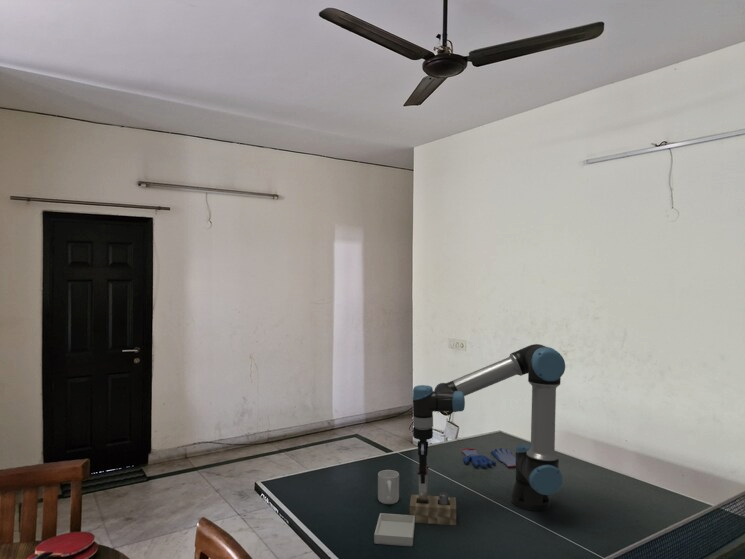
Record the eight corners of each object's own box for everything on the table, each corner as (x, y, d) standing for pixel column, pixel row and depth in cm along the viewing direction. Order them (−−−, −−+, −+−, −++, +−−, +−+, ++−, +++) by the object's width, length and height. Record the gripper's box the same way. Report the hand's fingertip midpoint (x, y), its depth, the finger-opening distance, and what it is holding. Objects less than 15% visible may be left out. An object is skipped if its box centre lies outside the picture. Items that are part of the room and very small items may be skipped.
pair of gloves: (514, 451, 263) (514, 444, 263) (533, 469, 237) (533, 462, 237) (455, 453, 260) (455, 446, 261) (468, 471, 235) (468, 463, 235)
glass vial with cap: (427, 507, 189) (427, 466, 189) (427, 511, 185) (427, 469, 185) (418, 506, 189) (418, 466, 189) (418, 510, 186) (418, 469, 186)
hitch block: (455, 513, 190) (455, 497, 190) (456, 525, 180) (456, 508, 180) (411, 510, 193) (411, 494, 193) (409, 522, 183) (409, 505, 183)
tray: (414, 523, 181) (415, 515, 182) (412, 546, 166) (412, 537, 166) (379, 521, 183) (379, 513, 183) (374, 543, 167) (374, 534, 167)
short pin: (448, 516, 187) (448, 492, 188) (448, 520, 184) (448, 496, 184) (439, 515, 188) (439, 492, 188) (439, 520, 185) (439, 495, 185)
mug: (378, 508, 194) (378, 481, 194) (377, 495, 206) (377, 469, 206) (400, 508, 194) (400, 481, 194) (397, 495, 206) (398, 469, 206)
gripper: (414, 420, 196) (414, 480, 196) (411, 433, 180) (412, 497, 180) (433, 421, 195) (433, 481, 195) (432, 433, 179) (432, 498, 179)
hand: (423, 488), depth 187 cm, fingers closed on glass vial with cap, 3 cm apart
